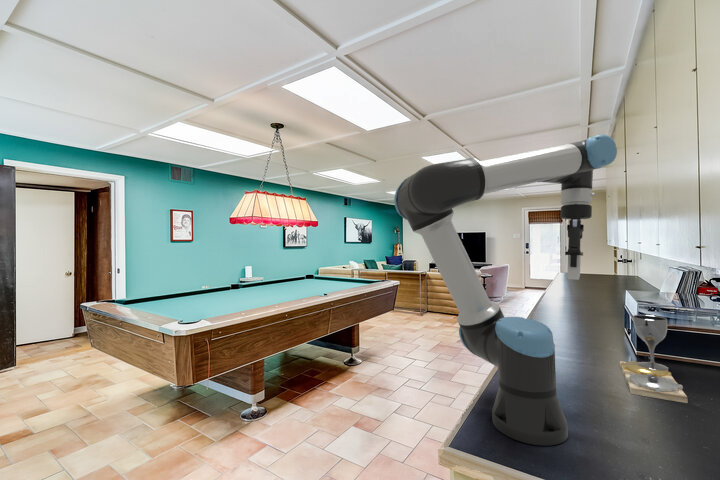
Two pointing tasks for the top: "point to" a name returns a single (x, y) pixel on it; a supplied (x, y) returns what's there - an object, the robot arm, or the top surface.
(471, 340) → the robot arm
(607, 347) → the top surface
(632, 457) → the top surface
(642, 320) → the wine glass
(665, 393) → the gear board
